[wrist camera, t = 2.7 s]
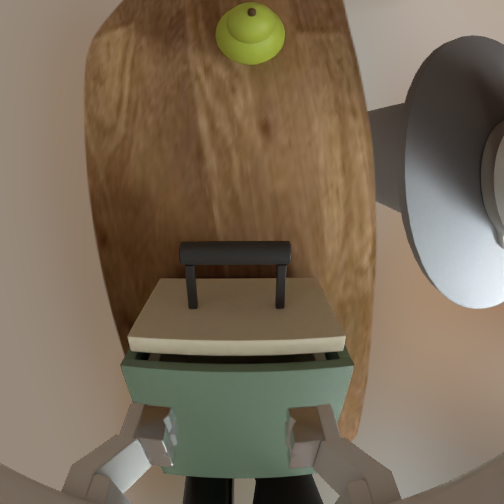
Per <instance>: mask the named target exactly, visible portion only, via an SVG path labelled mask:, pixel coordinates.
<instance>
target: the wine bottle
mask: <svg viewBox="0 0 504 504" xmlns="http://www.w3.org/2000/svg"><path fill="white" fill-rule="evenodd" d="M183 504H234V478H209V477H194V476H186V481H185V489H184V497H183Z"/></svg>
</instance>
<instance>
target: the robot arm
mask: <svg viewBox="0 0 504 504" xmlns="http://www.w3.org/2000/svg"><path fill="white" fill-rule="evenodd" d="M481 189H482V197H483V202H484V206H485V209H486V212H487V214H488V216H489V218H490V220H491V222H492V223H493V225H494V226H495V228H496V230H497V235H498V240H499V244H500V247H501V248H503V249H504V120H503V121H502V122H500V123H499V124H497V125H496V126H495V127H494V129H493V130H492V131H491V133H490V135H489V137H488V139H487V142H486V145H485V148H484V152H483V157H482V165H481ZM286 416H287V421H286V422H285V442H286V445H287V446H288V452H287V457H288V464H289V469H293V468H306V467H313V469H314V470H315V471H316V472H317V473H318V474H319V475H320V476H321V477H322V478H323V479H324V480H325V481H326V482H327V483H328V484H329V485H330V486H331V487H332V488H333V489H334V490H335V491H336V492H337V493H338V494H339V495H340V497H339V498H338V500H337V501H336V503H335V504H504V452H503V453H501V454H500V455H498V456H496V457H495V458H493V459H491V460H490V461H488V462H486V463H484V464H483V465H481V466H479V467H477V468H475V469H473V470H471V471H469V472H467V473H465V474H463V475H461V476H459V477H457V478H455V479H453V480H450V481H448V482H446V483H444V484H441V485H439V486H437V487H434V488H432V489H429V490H427V491H424V492H421V493H419V494H416V495H413V496H411V497H408V498H405V499H401V497H400V494H399V491H398V488H397V486H396V483H395V480H394V477H393V475H392V472H391V471H390V470H389V469H387V468H386V467H384V466H383V465H382V464H380V463H379V462H377V461H376V460H375V459H373V458H372V457H370V456H369V455H368V454H366V453H365V452H363V451H362V450H361V449H359V448H358V447H357V446H355V445H354V444H353V443H351V442H350V441H349V440H347V439H346V438H341V436H340V433H339V429H338V426H337V423H336V420H335V416H334V413H333V410H332V407H331V405H330V404H325V405H316V406H315V405H313V406H303V407H292V408H287V413H286ZM174 417H175V411H174V408H173V407H166V406H157V405H150V404H142V403H135V402H133V403H132V404H131V405H130V407H129V410H128V412H127V416H126V418H125V421H124V424H123V426H122V429H121V432H120V435H115V436H113V437H112V438H110V439H109V440H107V441H106V442H105V443H103V444H102V445H100V446H99V447H98V448H96V449H95V450H94V451H92V452H90V453H89V454H87V455H86V456H84V457H83V458H82V459H80V460H79V461H77V462H76V463H74V464H73V465H72V466H71V468H70V471H69V474H68V476H67V478H66V481H65V484H64V486H63V489H62V491H61V492H60V491H58V490H56V489H53V488H51V487H48V486H46V485H44V484H41V483H39V482H37V481H35V480H33V479H30V478H28V477H26V476H24V475H22V474H20V473H18V472H16V471H14V470H12V469H10V468H9V467H7V466H5V465H3V464H1V463H0V504H131V503H130V501H129V500H128V499H127V498H126V497H125V496H124V495H123V493H124V492H125V491H126V490H127V489H128V488H129V487H131V486H132V485H133V484H134V483H135V481H137V480H138V479H139V477H141V476H142V475H143V474H144V473H145V472H146V471H147V470H148V468H150V467H151V465H158V466H168V467H174V462H175V456H176V451H175V449H174V446H175V445H177V444H178V439H179V426H178V422H177V420H176V419H174Z"/></svg>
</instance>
